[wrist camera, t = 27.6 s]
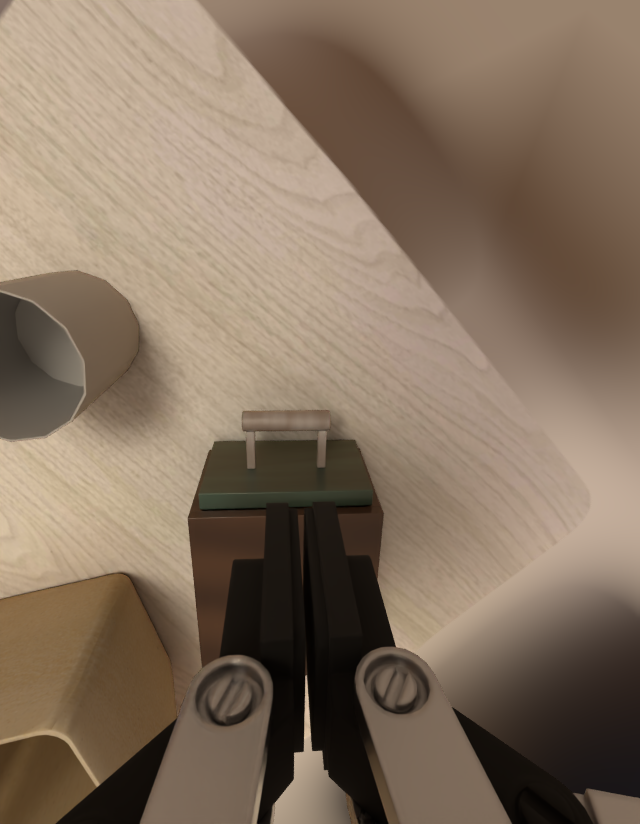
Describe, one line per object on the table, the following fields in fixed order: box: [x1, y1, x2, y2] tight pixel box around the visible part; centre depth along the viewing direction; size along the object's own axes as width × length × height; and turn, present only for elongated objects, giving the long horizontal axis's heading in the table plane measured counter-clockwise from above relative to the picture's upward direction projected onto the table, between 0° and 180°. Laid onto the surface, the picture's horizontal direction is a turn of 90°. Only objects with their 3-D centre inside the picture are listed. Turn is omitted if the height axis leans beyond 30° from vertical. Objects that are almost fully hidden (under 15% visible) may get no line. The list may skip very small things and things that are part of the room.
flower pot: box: [0, 574, 177, 824], centre depth 36 cm, size 19×19×17 cm
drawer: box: [198, 410, 373, 511], centre depth 35 cm, size 18×11×8 cm, turn 178°
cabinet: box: [188, 448, 384, 675], centre depth 36 cm, size 15×13×10 cm
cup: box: [0, 270, 139, 442], centre depth 28 cm, size 8×8×10 cm
